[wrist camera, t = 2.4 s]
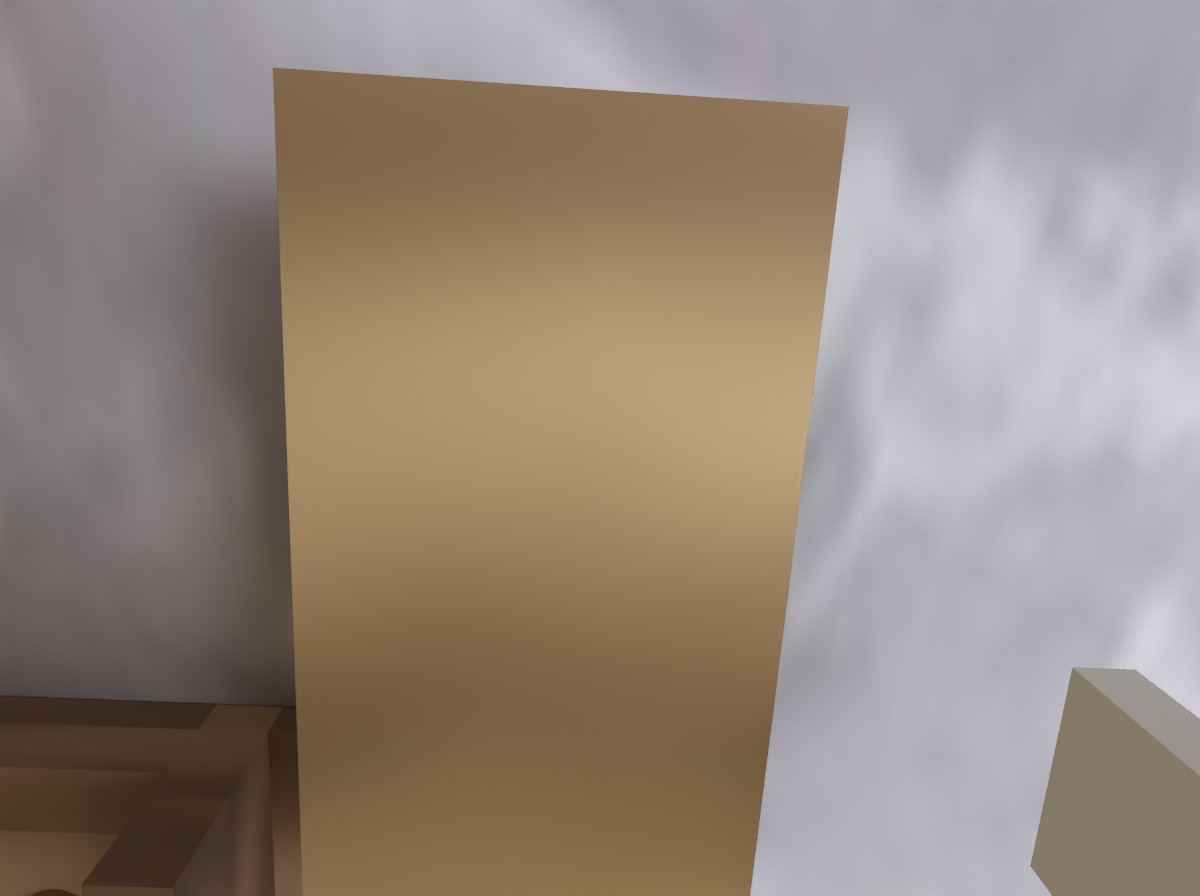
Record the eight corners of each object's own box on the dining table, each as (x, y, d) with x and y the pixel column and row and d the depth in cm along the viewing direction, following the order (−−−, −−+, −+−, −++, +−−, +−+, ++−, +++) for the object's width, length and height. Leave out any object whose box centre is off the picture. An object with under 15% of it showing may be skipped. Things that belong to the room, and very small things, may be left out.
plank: (367, 116, 13) (273, 67, 9) (767, 142, 13) (849, 107, 9) (374, 899, 16) (310, 1111, 12) (687, 907, 16) (721, 1119, 12)
